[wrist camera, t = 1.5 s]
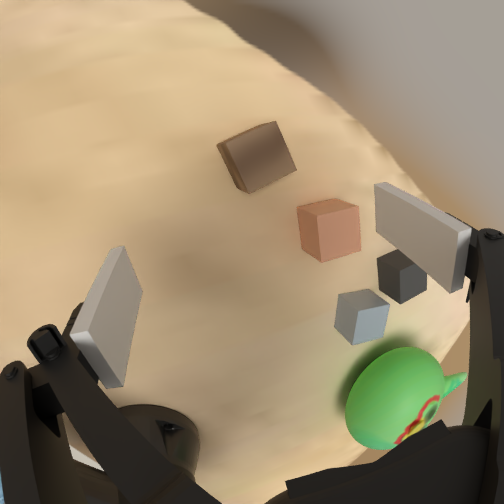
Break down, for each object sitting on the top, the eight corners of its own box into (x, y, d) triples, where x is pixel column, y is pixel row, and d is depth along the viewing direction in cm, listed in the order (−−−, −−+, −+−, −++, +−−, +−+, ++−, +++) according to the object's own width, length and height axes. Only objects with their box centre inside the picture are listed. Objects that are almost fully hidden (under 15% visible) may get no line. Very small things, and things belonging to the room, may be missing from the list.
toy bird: (366, 325, 44) (429, 382, 30) (427, 336, 50) (482, 378, 36) (314, 414, 47) (354, 478, 34) (380, 412, 53) (421, 460, 40)
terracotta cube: (338, 238, 38) (361, 250, 33) (301, 248, 37) (321, 262, 32) (334, 198, 36) (358, 206, 31) (296, 206, 35) (316, 215, 30)
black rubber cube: (404, 276, 43) (426, 289, 38) (378, 289, 42) (400, 304, 38) (403, 246, 41) (426, 257, 37) (376, 258, 40) (399, 270, 36)
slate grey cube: (363, 320, 43) (382, 337, 39) (333, 326, 42) (352, 345, 37) (368, 288, 42) (390, 304, 37) (338, 294, 40) (358, 311, 36)
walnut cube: (278, 167, 33) (296, 170, 29) (236, 187, 33) (249, 193, 28) (259, 125, 31) (275, 120, 27) (216, 144, 31) (225, 143, 26)
